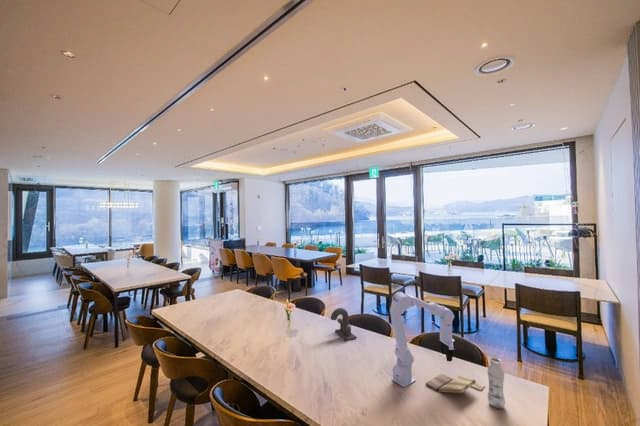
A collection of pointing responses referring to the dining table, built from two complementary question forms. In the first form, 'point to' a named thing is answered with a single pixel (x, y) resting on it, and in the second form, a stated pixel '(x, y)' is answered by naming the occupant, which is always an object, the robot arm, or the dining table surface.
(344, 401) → the dining table surface
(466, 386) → the oak plank
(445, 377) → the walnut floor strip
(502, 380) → the plastic bottle
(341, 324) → the faucet
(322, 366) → the dining table surface
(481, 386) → the plank
